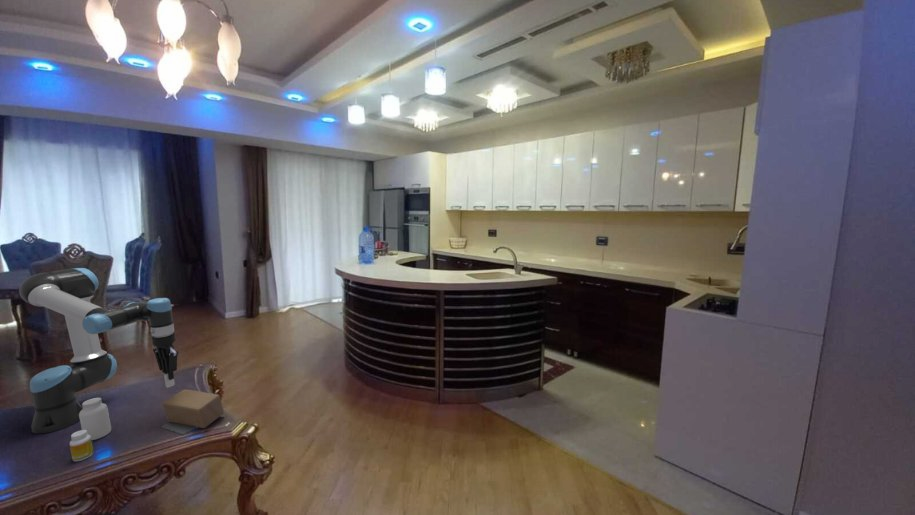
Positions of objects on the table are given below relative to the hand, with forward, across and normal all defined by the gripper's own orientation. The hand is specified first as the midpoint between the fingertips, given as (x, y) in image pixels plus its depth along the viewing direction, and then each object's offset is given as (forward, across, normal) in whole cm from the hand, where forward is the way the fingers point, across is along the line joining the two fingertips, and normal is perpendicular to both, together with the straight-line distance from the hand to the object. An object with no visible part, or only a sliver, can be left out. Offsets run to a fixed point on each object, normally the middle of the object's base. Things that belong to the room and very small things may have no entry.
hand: (170, 385), depth 151 cm
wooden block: (+9, +2, 0) cm, 9 cm away
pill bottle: (+15, -16, -19) cm, 29 cm away
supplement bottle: (+15, -5, -28) cm, 32 cm away
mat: (+15, +10, 0) cm, 18 cm away
